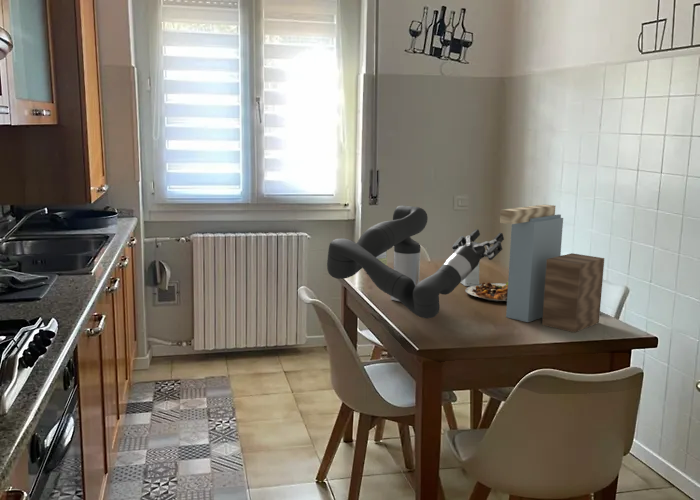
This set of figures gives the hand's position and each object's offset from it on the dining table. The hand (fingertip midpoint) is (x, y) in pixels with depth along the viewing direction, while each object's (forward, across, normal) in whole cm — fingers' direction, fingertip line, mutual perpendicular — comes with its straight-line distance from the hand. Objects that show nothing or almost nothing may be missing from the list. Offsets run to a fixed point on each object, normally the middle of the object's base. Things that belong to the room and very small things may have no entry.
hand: (490, 233), depth 208 cm
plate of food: (+21, +21, +46) cm, 55 cm away
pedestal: (+8, 0, +38) cm, 39 cm away
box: (+16, +81, +43) cm, 93 cm away
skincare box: (+26, +41, +49) cm, 69 cm away
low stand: (+8, -14, +38) cm, 42 cm away
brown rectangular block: (+18, -1, +7) cm, 20 cm away
